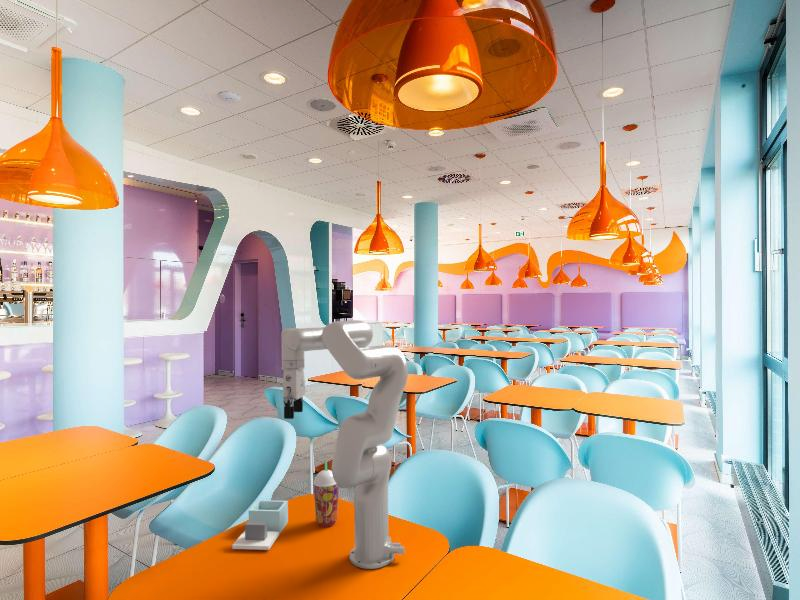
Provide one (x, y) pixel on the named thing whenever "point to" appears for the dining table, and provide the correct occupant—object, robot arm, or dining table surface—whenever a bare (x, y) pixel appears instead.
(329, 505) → the smoothie
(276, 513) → the tub
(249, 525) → the lid
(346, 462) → the robot arm
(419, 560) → the dining table surface
